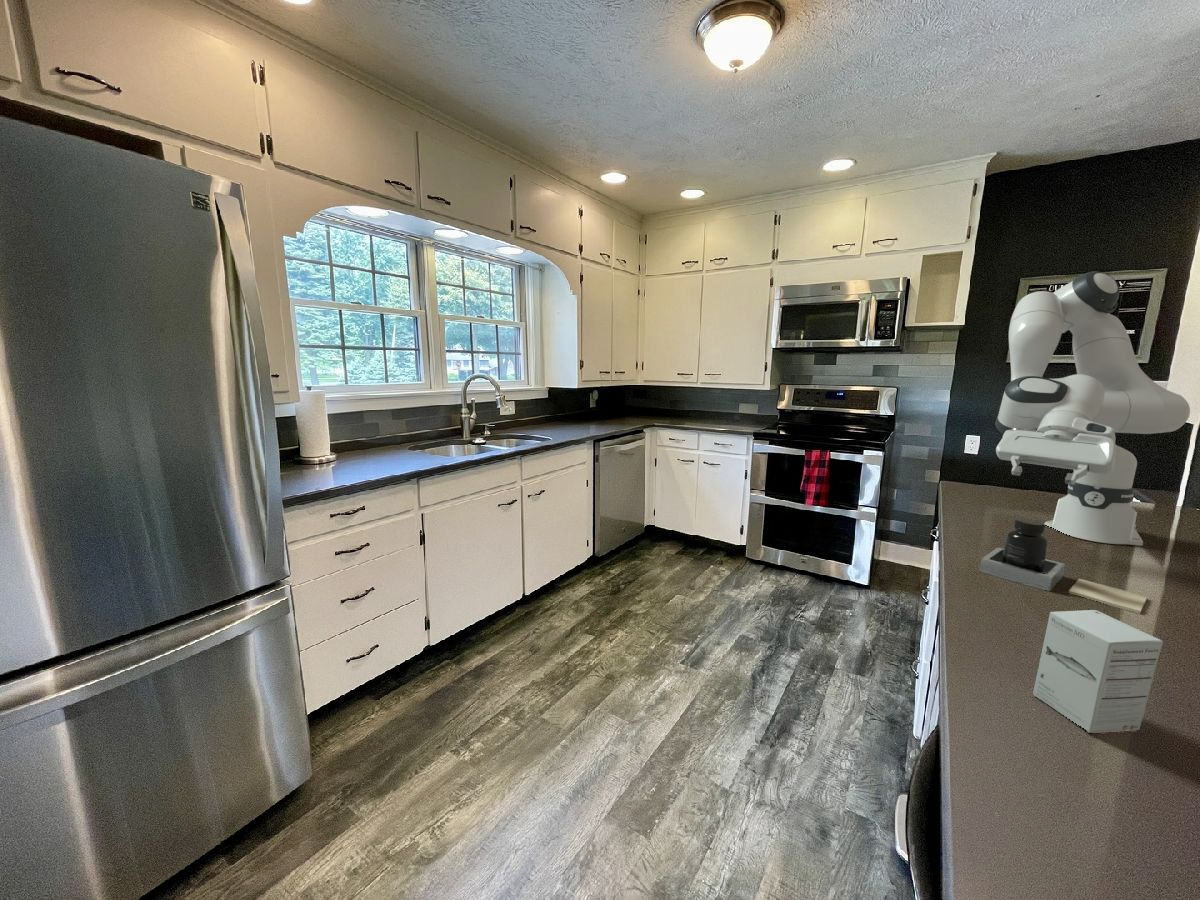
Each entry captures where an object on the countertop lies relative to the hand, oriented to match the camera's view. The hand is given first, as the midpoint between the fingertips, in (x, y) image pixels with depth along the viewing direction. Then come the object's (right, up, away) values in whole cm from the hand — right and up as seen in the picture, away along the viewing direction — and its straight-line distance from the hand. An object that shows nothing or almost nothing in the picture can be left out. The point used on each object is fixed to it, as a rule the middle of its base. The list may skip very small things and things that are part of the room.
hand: (1041, 477), depth 109 cm
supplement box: (-38, -28, -47) cm, 66 cm away
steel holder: (-9, -21, -5) cm, 23 cm away
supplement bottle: (-9, -21, -5) cm, 23 cm away
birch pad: (-1, -23, -15) cm, 27 cm away
